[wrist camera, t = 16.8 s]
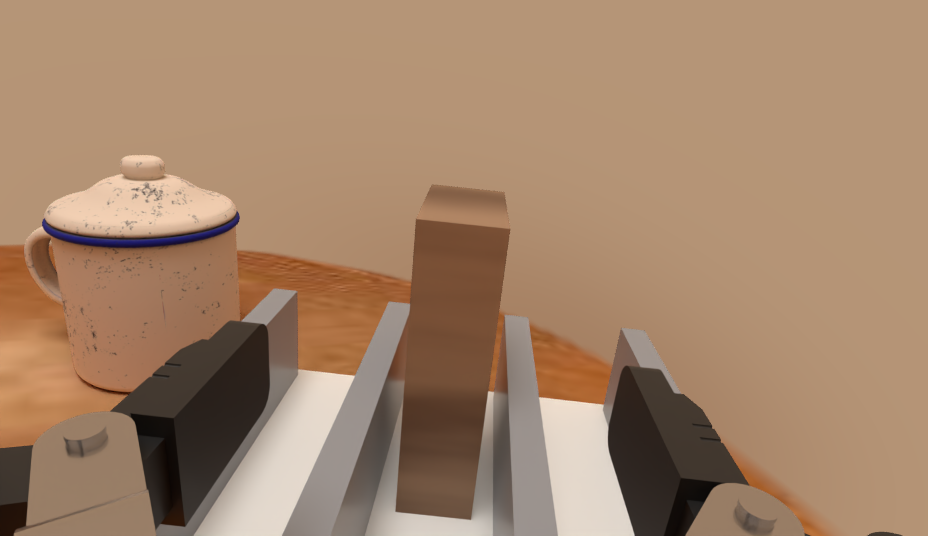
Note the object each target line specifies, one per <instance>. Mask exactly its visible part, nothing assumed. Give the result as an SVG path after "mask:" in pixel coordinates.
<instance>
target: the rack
mask: <svg viewBox="0 0 928 536" xmlns="http://www.w3.org/2000/svg"><path fill="white" fill-rule="evenodd" d="M409 312H410V304H406V303H397V302H389V303H388V305H387V307H386V310H385V312H384V314H383V316H382V318H381V321H380V323H379V325H378V327H377V329H376V331H375V334H374V336H373V338H372V340H371V342H370V345H369V347H368V349H367V351H366V353H365V355H364V358H363V360H362V362H361V364H360V366H359V369H358V371H357V373H356V375H355V376H350V375H342V374H333V373H325V372H316V371H307V370H299V369H298V313H297V291H291V290H283V289H273V290H272V291H271V292H270V293H269V294H268V295H267V296H266V297H265V298H264V299H263V300H262V301H261V302H260V303H259V304H258V305H257V306H256V307H255V308H254V309H253V310H252V311H251V312H250V313H249V314H248V315H247V316H246V317H245V318H244V319H243V320H242V322H251V323H260V324H265V325H266V327H267V329H268V337H269V368H270V391H269V396H268V401H267V404H266V407H265V409H264V411H263V413H262V414H261V416H260V417H259V419H258V420H257V422H256V423H255V425H254V426H253V428H252V429H251V431H250V432H249V434H248V435H247V436H246V438H245V439H244V441H243V442H242V444H241V445H240V447H239V448H238V450H237V451H236V453H235V454H234V456H233V457H232V459H231V460H230V462H229V463H228V465H227V466H226V468H225V469H224V471H223V472H222V473H221V475H220V476H219V478H218V479H217V481H216V482H215V484H214V485H213V487H212V488H211V490H210V491H209V493H208V494H207V496H206V497H205V499H204V500H203V502H202V503H201V505H200V506H199V508H198V509H197V510H196V512H195V513H194V515H193V516H192V518H191V519H190V521H189V522H188V524H187V525H186V527H181V526H172V525H164V524H160V525H159V527H158V528H157V529H156V536H635V535H634V532H633V528H632V525H631V522H630V519H629V515H628V512H627V509H626V506H625V502H624V499H623V496H622V493H621V489H620V486H619V483H618V480H617V476H616V473H615V470H614V467H613V464H612V460H611V457H610V454H609V449H608V427H609V422H610V417H611V413H612V409H613V404H614V400H615V396H616V391H617V387H618V383H619V378H620V374H621V371H622V369H623V368H624V366H626V365H627V366H636V367H645V368H654V369H660V370H661V371H662V372H663V374H664V376H665V377H666V379H667V381H668V383H669V385H670V386H671V388H672V390H673V392H674V393H678V394H681V393H680V391H679V389H678V387H677V386H676V384H675V382H674V380H673V379H672V377H671V375H670V374H669V372H668V370H667V368H666V367H665V365H664V363H663V361H662V360H661V358H660V357H659V355H658V353H657V351H656V350H655V348H654V346H653V344H652V343H651V341H650V339H649V337H648V336H647V334H646V332H645V331H642V330H635V329H626V328H621V331H620V336H619V340H618V344H617V349H616V353H615V358H614V362H613V367H612V371H611V375H610V380H609V384H608V389H607V393H606V398H605V402H604V405H601V404H592V403H583V402H575V401H566V400H558V399H549V398H540V397H539V394H538V386H537V379H536V372H535V365H534V357H533V350H532V343H531V335H530V328H529V321H528V317H520V316H511V315H505V317H504V324H503V331H502V338H501V346H500V353H499V360H498V367H497V374H496V381H495V389H494V392H488V397H487V404H486V412H485V419H484V427H483V434H482V442H481V449H480V456H479V464H478V471H477V479H476V486H475V493H474V501H473V508H472V516H471V520H466V519H457V518H447V517H438V516H428V515H419V514H409V513H400V512H395V510H396V496H397V482H398V467H399V453H400V439H401V425H402V411H403V397H404V383H405V368H406V354H407V340H408V326H409Z"/></svg>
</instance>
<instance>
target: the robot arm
mask: <svg viewBox="0 0 928 536" xmlns="http://www.w3.org/2000/svg"><path fill="white" fill-rule="evenodd" d="M269 391H270V368H269V337H268V329H267V327H266V325H265V324H260V323H251V322H242V321H233V320H230V321H228V322H227V323H226V324H225V325H224V326H223V327H222V328H220V329H219V330H218V331H217V332H216V333H215V334H214V335H213V336H212V337H211V338H210V339H209V340H206V339H201V340H199V341H197V342H195V343H193V344H191V345H188V346H186V347H184V348H182V349H180V350H179V351H178V352H177V353H175V354H174V355H173V356H172V357H171V358H170V359H169V360H167V361H166V362H165V365H164V366H163V365H162V366H161V367H160V368H158V369H157V370H156V371H155V372H154V373H153V374H152V377H148V378H147V379H146V380H145V381H144V382H143V383H142V384H140V385H139V386H138V387H137V388H136V389H135V390H134V391H132V392H131V393H130V394H129V395H128V396H127V397H126V398H125V399H123V400H122V401H121V402H120V403H119V404H118V405H117V406H116V407H114V408H113V409H112V410H111V411H110V412H94V413H88V414H83V415H80V416H76V417H73V418H70V419H67V420H65V421H63V422H61V423H59V424H57V425H55V426H53V427H51V428H50V429H48V430H47V431H46V432H44V433H43V434H42V435H41V436H40V437H39V438H38V439H37V440H36V442H35V444H34V445H30V446H20V447H10V448H0V536H156V529H157V528H158V527H159V525H160V524H164V525H172V526H181V527H186V525H187V524H188V522H189V521H190V519H191V518H192V516H193V515H194V513H195V512H196V510H197V509H198V508H199V506H200V505H201V503H202V502H203V500H204V499H205V497H206V496H207V494H208V493H209V491H210V490H211V488H212V487H213V485H214V484H215V482H216V481H217V479H218V478H219V476H220V475H221V473H222V472H223V471H224V469H225V468H226V466H227V465H228V463H229V462H230V460H231V459H232V457H233V456H234V454H235V453H236V451H237V450H238V448H239V447H240V445H241V444H242V442H243V441H244V439H245V438H246V436H247V435H248V434H249V432H250V431H251V429H252V428H253V426H254V425H255V423H256V422H257V420H258V419H259V417H260V416H261V414H262V413H263V411H264V409H265V407H266V404H267V401H268V396H269ZM608 449H609V454H610V457H611V460H612V464H613V467H614V470H615V473H616V476H617V480H618V483H619V486H620V489H621V493H622V496H623V499H624V502H625V506H626V509H627V512H628V515H629V519H630V522H631V525H632V528H633V532H634V535H635V536H810V535H808V534H805V533H804V529H803V527H802V524H801V523H800V521H799V519H798V518H797V517H796V515H795V514H794V513H793V512H792V511H791V510H790V509H789V508H788V507H787V506H786V505H784V504H783V503H782V502H781V501H779V500H778V499H776V498H775V497H773V496H771V495H769V494H768V493H766V492H764V491H762V490H759V489H757V488H754V487H751V486H749V484H748V482H747V481H746V479H745V478H744V476H743V474H742V473H741V471H740V470H739V468H738V466H737V465H736V463H735V462H734V460H733V458H732V457H731V455H730V454H729V452H728V450H727V449H726V447H725V446H724V444H723V443H721V439H720V437H719V436H718V434H717V433H716V431H715V429H712V425H711V423H710V422H709V420H708V418H707V417H706V415H705V413H704V412H703V410H702V409H701V408H700V407H698V406H697V405H696V404H695V403H693V402H692V401H691V400H690V399H689V398H687V397H686V396H685V395H684V394H678V393H674V392H673V390H672V388H671V386H670V385H669V383H668V381H667V379H666V377H665V376H664V374H663V372H662V371H661V370H660V369H654V368H645V367H636V366H627V365H626V366H624V368H623V369H622V371H621V374H620V378H619V383H618V387H617V391H616V396H615V400H614V404H613V409H612V413H611V417H610V422H609V427H608ZM868 536H902V535H899V534H894V533H889V532H875V533H871V534H869V535H868Z"/></svg>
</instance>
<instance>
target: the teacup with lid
mask: <svg viewBox="0 0 928 536" xmlns="http://www.w3.org/2000/svg"><path fill="white" fill-rule="evenodd" d="M120 169H121V172H122V174H121V175H116V176H113V177H109V178H106V179H104V180H102V181H100V182H98V183H96V184H95V185H94V186H92V187H91V188H89V189H88V190H86V191H82V192H78V193H74V194H70V195H68V196H65V197H62V198H60V199H58V200H56V201H54V202H53V203H52V204H51V205H50V206H49V207H48V208H47V210H46V212H45V214H44V219H43V222H42V226H43V227H40V228H38V229H36V230H35V231H33V232H32V233H31V234H30V235H29V237H28V238H27V240H26V242H25V247H24V255H25V260H26V264H27V267H28V269H29V272H30V274H31V276H32V277H33V279H34V281H35V282H36V284H37V285H38V286H39V288H40V289H41V290H42V291H43V292H44V293H45V294H46V295H47V296H48V297H49V298H51V299H52V300H53V301H55V302H57V303H59V304H61V305H63V309H64V315H65V320H66V326H67V331H68V337H69V343H70V348H71V354H72V359H73V365H74V368H75V371H76V372H77V374H78V375H79V376H80V377H81V378H82V379H83V380H85V381H86V382H88V383H90V384H92V385H94V386H96V387H99V388H103V389H107V390H112V391H120V392H132V391H134V390H135V389H136V388H137V387H138V386H139V385H140V384H142V383H143V382H144V381H145V380H146V379H147V378H148V377H152V374H153V373H154V372H155V371H156V370H157V369H158V368H160V367H161V366H162V365H163V366H164V365H165V362H166V361H167V360H169V359H170V358H171V357H172V356H173V355H174V354H175V353H177V352H178V351H179V350H180V349H182V348H184V347H186V346H188V345H191V344H193V343H195V342H197V341H199V340H201V339H206V340H209V339H210V338H211V337H212V336H213V335H214V334H215V333H216V332H217V331H218V330H219V329H220V328H222V327H223V326H224V325H225V324H226V323H227V322H228V321H230V320H233V321H240V305H239V285H238V266H237V247H236V227H235V226H236V225H237V224H238V222H239V218H240V217H239V213H238V212H237V210H236V206H235V205H234V203H233V202H232V201H231V200H230V199H229V198H227V197H225V196H223V195H221V194H219V193H216V192H213V191H208V190H204V189H200V188H198V187H196V186H194V185H193V184H191V183H190V182H188V181H186V180H184V179H182V178H179V177H176V176H172V175H167V174H164V173H165V165H164V162H163V161H162V160H161V159H160V158H158V157H155V156H146V155H134V156H127V157H124V158H123V159H122V160H121V162H120ZM50 240H51V241H52V247H53V253H54V258H55V264H56V270H57V272H56V270H55V268H54V266H53V264H52V262H51V259H50V256H49V242H50Z"/></svg>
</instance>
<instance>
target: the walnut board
mask: <svg viewBox="0 0 928 536" xmlns="http://www.w3.org/2000/svg"><path fill="white" fill-rule="evenodd" d="M509 234H510V225H509V218H508V213H507V206H506V200H505V195H504V192H498V191H489V190H479V189H470V188H460V187H450V186H441V185H432V186H431V188H430V190H429V192H428V194H427V196H426V199H425V201H424V203H423V205H422V207H421V209H420V212H419V214H418V216H417V218H416V228H415V242H414V256H413V269H412V270H413V271H412V283H411V298H410V312H409V326H408V340H407V354H406V368H405V383H404V397H403V411H402V425H401V439H400V453H399V467H398V482H397V496H396V510H395V512H400V513H409V514H419V515H428V516H438V517H447V518H457V519H466V520H471V516H472V508H473V501H474V493H475V486H476V479H477V471H478V464H479V456H480V449H481V442H482V434H483V427H484V419H485V412H486V404H487V397H488V390H489V382H490V375H491V367H492V360H493V353H494V345H495V338H496V330H497V323H498V316H499V308H500V301H501V293H502V286H503V279H504V271H505V264H506V256H507V249H508V242H509Z"/></svg>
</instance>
